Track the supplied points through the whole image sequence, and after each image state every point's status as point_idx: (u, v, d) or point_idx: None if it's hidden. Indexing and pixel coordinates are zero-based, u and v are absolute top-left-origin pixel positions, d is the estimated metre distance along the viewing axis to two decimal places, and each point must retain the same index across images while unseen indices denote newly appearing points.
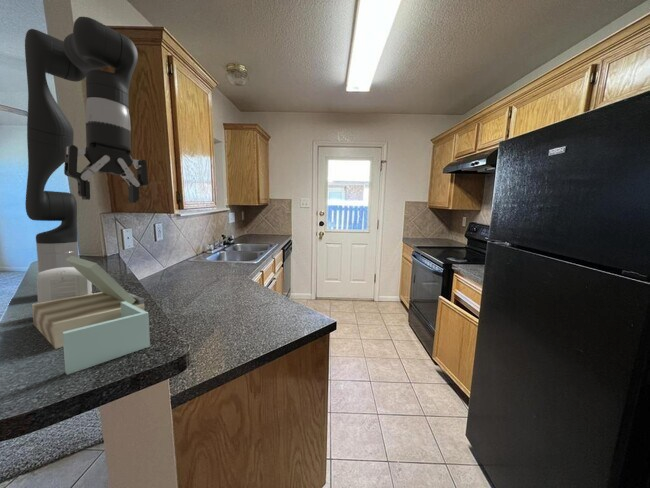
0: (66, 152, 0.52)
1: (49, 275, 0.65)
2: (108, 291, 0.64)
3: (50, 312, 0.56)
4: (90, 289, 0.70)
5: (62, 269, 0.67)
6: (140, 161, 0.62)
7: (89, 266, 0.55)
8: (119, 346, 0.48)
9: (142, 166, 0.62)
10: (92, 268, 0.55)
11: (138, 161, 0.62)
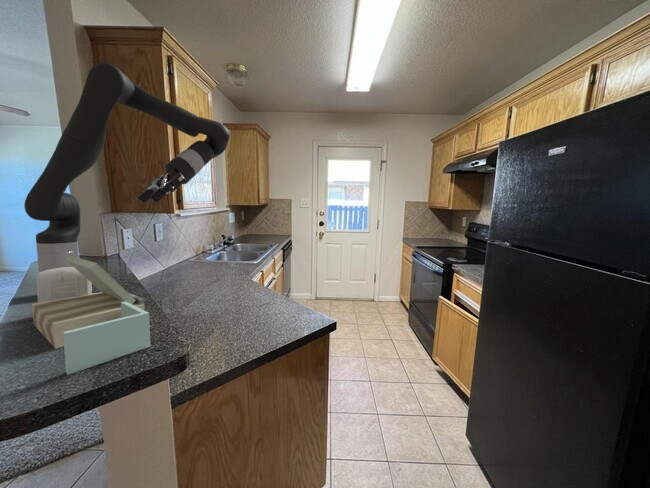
0: (179, 177, 0.75)
1: (49, 275, 0.65)
2: (108, 291, 0.64)
3: (50, 312, 0.56)
4: (90, 289, 0.70)
5: (62, 269, 0.67)
6: None
7: (89, 266, 0.55)
8: (120, 346, 0.48)
9: None
10: (92, 268, 0.55)
11: None
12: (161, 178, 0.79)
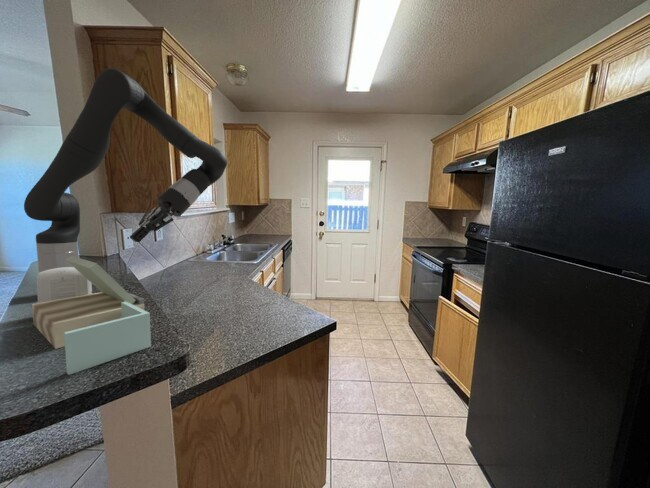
0: (164, 218, 0.69)
1: (49, 275, 0.65)
2: (108, 291, 0.64)
3: (50, 312, 0.56)
4: (90, 289, 0.70)
5: (62, 269, 0.67)
6: None
7: (89, 266, 0.55)
8: (120, 346, 0.48)
9: None
10: (92, 268, 0.55)
11: None
12: (154, 211, 0.73)
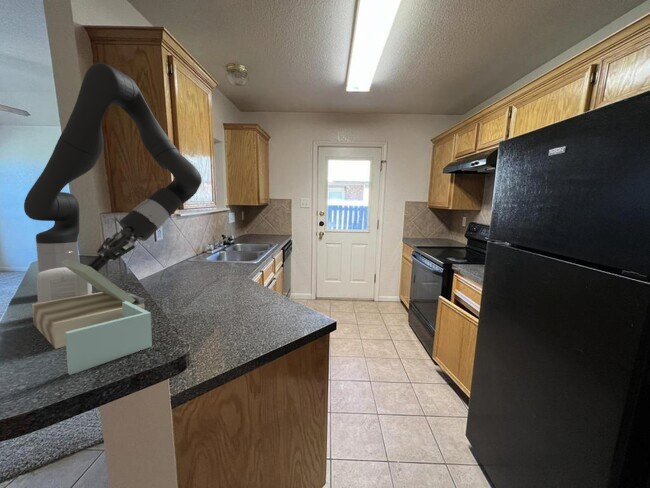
0: (123, 246, 0.62)
1: (49, 275, 0.65)
2: (107, 292, 0.64)
3: (50, 312, 0.56)
4: (90, 289, 0.70)
5: (62, 269, 0.67)
6: None
7: (83, 270, 0.54)
8: (121, 346, 0.48)
9: None
10: (87, 272, 0.54)
11: None
12: (115, 237, 0.66)
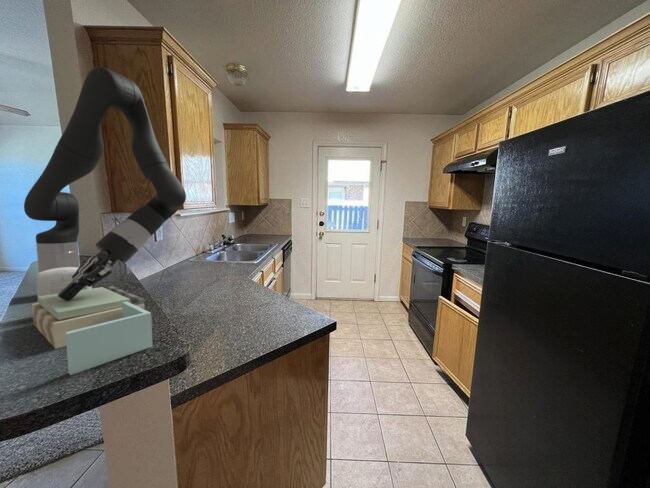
0: (99, 272, 0.59)
1: (49, 275, 0.65)
2: None
3: None
4: None
5: (62, 269, 0.67)
6: None
7: (56, 317, 0.52)
8: (122, 346, 0.48)
9: None
10: (61, 317, 0.51)
11: None
12: (91, 261, 0.62)
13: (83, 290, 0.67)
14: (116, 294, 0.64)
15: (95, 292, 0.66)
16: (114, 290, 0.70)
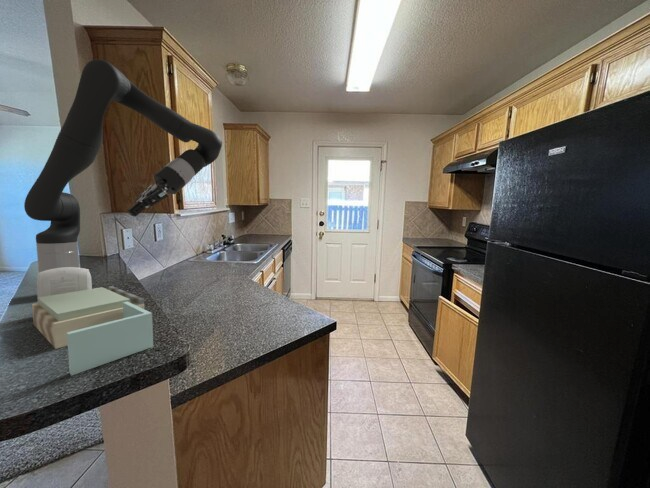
0: (159, 194, 0.73)
1: (49, 275, 0.65)
2: None
3: None
4: None
5: (62, 269, 0.67)
6: None
7: (56, 318, 0.52)
8: (123, 346, 0.48)
9: None
10: (61, 319, 0.51)
11: None
12: None
13: (83, 290, 0.67)
14: (116, 294, 0.64)
15: (95, 292, 0.65)
16: (114, 290, 0.70)
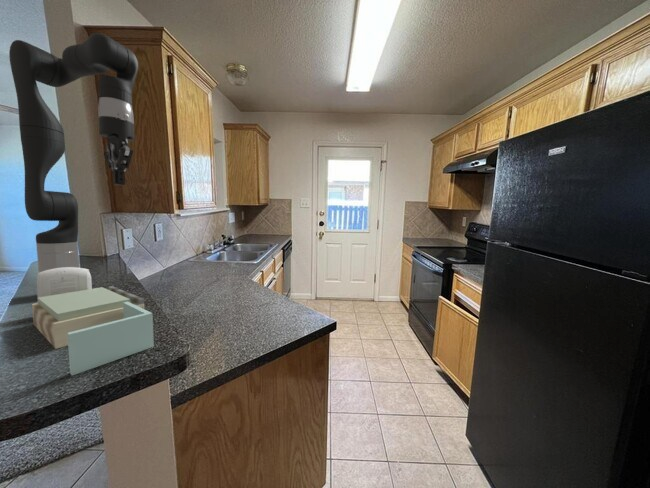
0: (124, 153, 0.68)
1: (49, 275, 0.65)
2: None
3: None
4: None
5: (62, 269, 0.67)
6: None
7: (56, 318, 0.52)
8: (123, 347, 0.48)
9: None
10: (61, 319, 0.51)
11: None
12: (110, 148, 0.71)
13: (83, 290, 0.67)
14: (116, 294, 0.64)
15: (95, 292, 0.65)
16: (114, 290, 0.70)
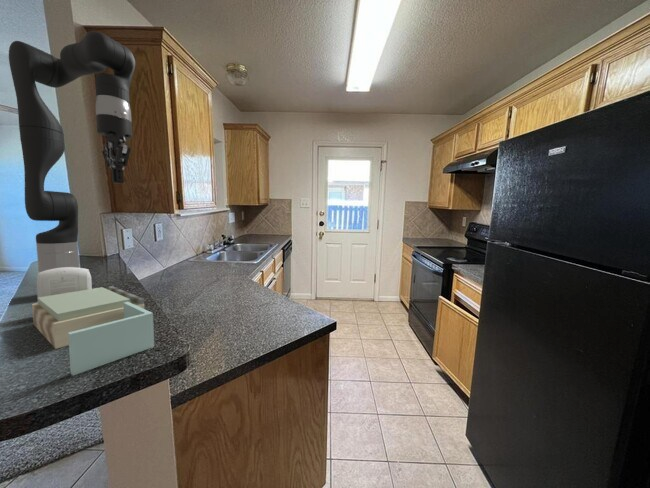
0: (122, 151, 0.68)
1: (49, 275, 0.65)
2: None
3: None
4: None
5: (62, 269, 0.67)
6: None
7: (56, 318, 0.52)
8: (124, 346, 0.48)
9: None
10: (61, 319, 0.51)
11: None
12: None
13: (83, 290, 0.67)
14: (116, 294, 0.64)
15: (95, 292, 0.65)
16: (114, 290, 0.70)
